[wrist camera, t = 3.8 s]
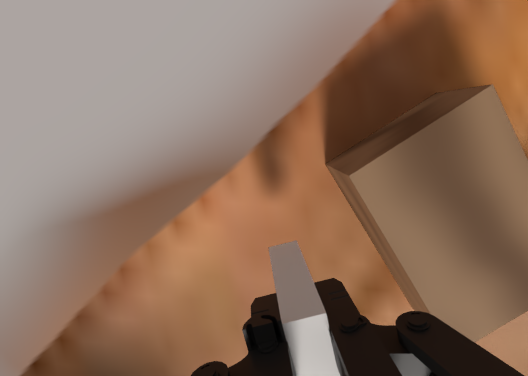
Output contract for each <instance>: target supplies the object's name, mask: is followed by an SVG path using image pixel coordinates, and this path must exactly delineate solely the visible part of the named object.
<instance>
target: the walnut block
mask: <svg viewBox="0 0 528 376" xmlns="http://www.w3.org/2000/svg"><path fill="white" fill-rule="evenodd" d="M325 165H326V166H327V168H328V170H329V171H330V173H331V175H332V176H333V178H334V180H335V181H336V183H337V184H338V186H339V188H340V189H341V191H342V193H343V194H344V196H345V198H346V199H347V201H348V203H349V204H350V206H351V208H352V209H353V211H354V213H355V214H356V216H357V218H358V219H359V221H360V222H361V224H362V226H363V227H364V229H365V231H366V232H367V234H368V236H369V237H370V239H371V241H372V242H373V244H374V246H375V247H376V249H377V251H378V252H379V254H380V256H381V257H382V259H383V260H384V262H385V264H386V265H387V267H388V269H389V270H390V272H391V274H392V275H393V277H394V279H395V280H396V282H397V284H398V285H399V287H400V289H401V290H402V292H403V294H404V295H405V297H406V298H407V300H408V302H409V303H410V305H411V307H412V308H413V309H414V310H415V311H422V312H427V313H429V314H431V315H434V316H435V317H437V318H438V319H440V320H441V321H443V322H444V323H446V324H447V325H449V326H450V327H452V328H453V329H455V330H456V331H458V332H459V333H461V334H462V335H464V336H465V337H467V338H468V339H470V340H471V341H473V342H476V341H478V340H479V339H481V338H483V337H484V336H486V335H488V334H490V333H491V332H493V331H495V330H496V329H498V328H500V327H501V326H503V325H505V324H506V323H508V322H510V321H511V320H513V319H515V318H516V317H518V316H520V315H521V314H523V313H525V312H527V311H528V160H527V157H526V155H525V153H524V151H523V149H522V147H521V144H520V142H519V140H518V138H517V136H516V134H515V131H514V129H513V127H512V125H511V123H510V121H509V118H508V116H507V114H506V112H505V110H504V108H503V105H502V103H501V101H500V99H499V97H498V95H497V92H496V90H495V88H494V86H493V84H492V85H485V86H479V87H472V88H465V89H459V90H452V91H446V92H439V93H435V94H434V95H432V96H431V97H429V98H428V99H426V100H424V101H423V102H421V103H420V104H418V105H417V106H415V107H414V108H412V109H410V110H409V111H407V112H406V113H404V114H403V115H401V116H400V117H398V118H396V119H395V120H393V121H392V122H390V123H389V124H387V125H386V126H384V127H382V128H381V129H379V130H378V131H376V132H375V133H373V134H372V135H370V136H368V137H367V138H365V139H364V140H362V141H361V142H359V143H357V144H356V145H354V146H353V147H351V148H350V149H348V150H347V151H345V152H343V153H342V154H340V155H339V156H337V157H336V158H334V159H333V160H331V161H329V162H328V163H326V164H325Z"/></svg>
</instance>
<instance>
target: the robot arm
mask: <svg viewBox="0 0 528 376" xmlns="http://www.w3.org/2000/svg"><path fill="white" fill-rule="evenodd" d="M268 248H269V253H270V259H271V265H272V271H273V276H274V282H275V288H276V293H274V294H270V295H266V296H262V297H258V298H255V300H254V301H253V303H252V305H251V318H250V319H249V320H248V321H247V322H246V323H245V324H244V326H243V329H242V330H243V334H244V337H245V341H246V344H247V348H248V355H247V356H246V357H245V358H244V359H243V360H241V361H240V362H238V363H237V364H235V365H233V366H231V367H229V368H228V367H227V365H226V364H224V363H223V362H218V361H214V362H209V363H206V364H204V365H202V366H200V367H199V368H198V369H196V370H195V371H194V372H193V373H192V375H191V376H524V375H523V374H521V373H520V372H518V371H517V370H515V369H514V368H512V367H511V366H509V365H508V364H506V363H505V362H503V361H502V360H500V359H499V358H497V357H496V356H494V355H493V354H491V353H489V352H488V351H486V350H485V349H483V348H482V347H480V346H479V345H477V344H476V343H474V342H473V341H471V340H470V339H468V338H467V337H465V336H464V335H462V334H461V333H459V332H458V331H456V330H455V329H453V328H452V327H450V326H449V325H447V324H446V323H444V322H443V321H441V320H440V319H438V318H437V317H435V316H434V315H431V314H429V313H427V312H422V311H410V312H406V313H403V314H402V315H400V316H399V317H398V318H397V320H396V326H382V325H375V324H372V323H370V321H369V320H368V319H367V318H366V317H365V316H362V315H360V313H359V311H358V310H357V308H356V306H355V304H354V303H353V301H352V299H351V298H350V296H349V294H348V292H347V291H346V289H345V287H344V286H343V284H342V282H340V281H338V280H337V279H335V278H331V279H327V280H323V281H319V282H315V283H314V282H313V280H312V277H311V275H310V272H309V270H308V267H307V265H306V262H305V260H304V258H303V255H302V253H301V250H300V248H299V245H298V243H297V241H293V242H289V243H285V244H281V245H277V246H273V247H268Z"/></svg>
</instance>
